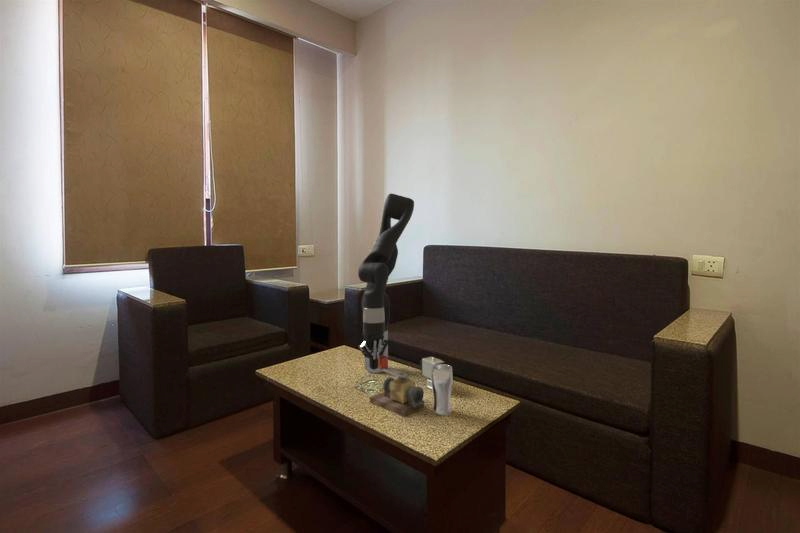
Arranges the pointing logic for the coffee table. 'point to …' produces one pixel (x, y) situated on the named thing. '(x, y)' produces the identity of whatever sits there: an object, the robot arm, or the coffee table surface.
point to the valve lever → (384, 367)
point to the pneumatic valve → (429, 367)
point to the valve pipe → (399, 396)
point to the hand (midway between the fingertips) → (373, 368)
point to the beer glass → (441, 388)
